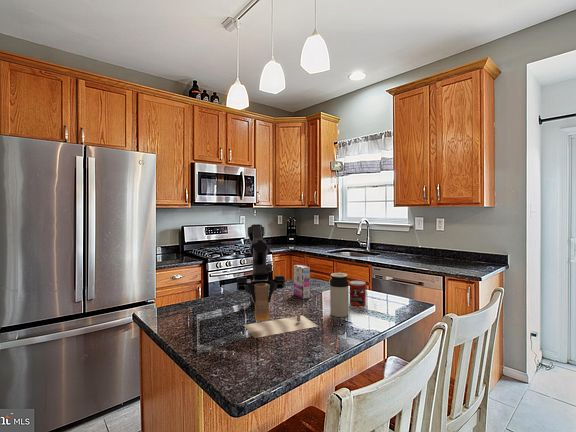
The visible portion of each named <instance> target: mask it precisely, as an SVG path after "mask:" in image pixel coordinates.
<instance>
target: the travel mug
mask: <svg viewBox="0 0 576 432" xmlns="http://www.w3.org/2000/svg"><path fill="white" fill-rule="evenodd" d="M330 277H331V279H330V280H329V289H330V290H329V299H330V303H329V304H330V305H329V306H330V308H329V309H330V311H329V313H330V316H332V317H335V318H345V317H348V316H349V315H350V314H349V312H350V311H349V280H348V279H347V278H348V274H347V273H345V272H333V273H331V274H330Z"/></svg>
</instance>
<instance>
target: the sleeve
mask: <svg viewBox="0 0 576 432" xmlns="http://www.w3.org/2000/svg"><path fill="white" fill-rule="evenodd" d="M269 287H270V285H268V284H267V283H257V284H255V285H254V289H255V308H254V320H255V321H259V322H265V321H269V319H270V303H269Z"/></svg>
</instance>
